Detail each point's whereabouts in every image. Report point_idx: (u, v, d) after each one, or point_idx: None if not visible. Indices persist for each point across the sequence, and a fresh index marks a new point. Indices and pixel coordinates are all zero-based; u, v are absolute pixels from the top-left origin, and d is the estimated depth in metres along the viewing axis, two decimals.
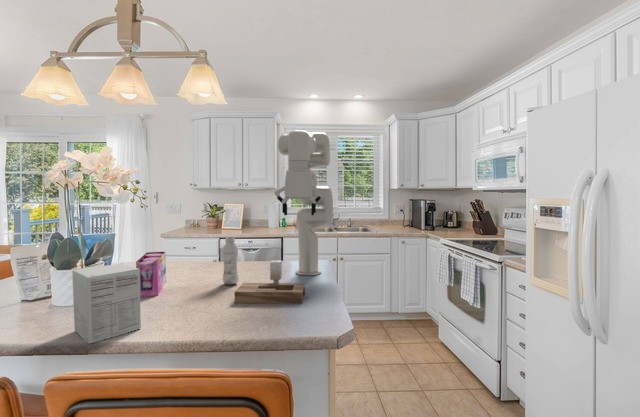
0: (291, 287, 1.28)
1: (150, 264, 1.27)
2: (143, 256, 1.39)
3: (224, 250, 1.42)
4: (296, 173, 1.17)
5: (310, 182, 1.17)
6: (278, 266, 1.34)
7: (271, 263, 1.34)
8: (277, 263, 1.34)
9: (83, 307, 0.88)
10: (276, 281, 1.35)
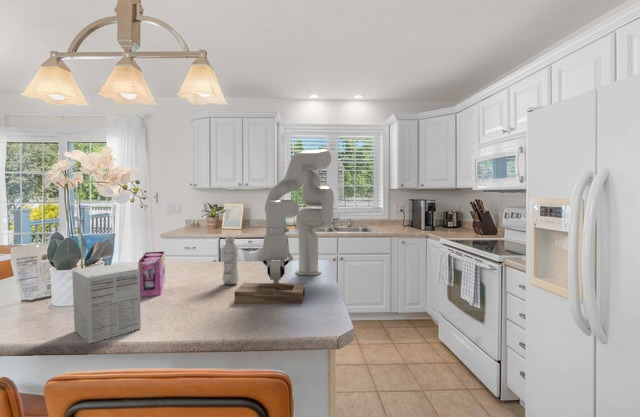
0: (291, 287, 1.28)
1: (153, 264, 1.27)
2: (143, 256, 1.39)
3: (224, 250, 1.42)
4: (272, 238, 1.33)
5: (285, 246, 1.33)
6: (278, 266, 1.34)
7: (271, 263, 1.34)
8: (277, 263, 1.34)
9: (83, 308, 0.88)
10: (276, 281, 1.35)
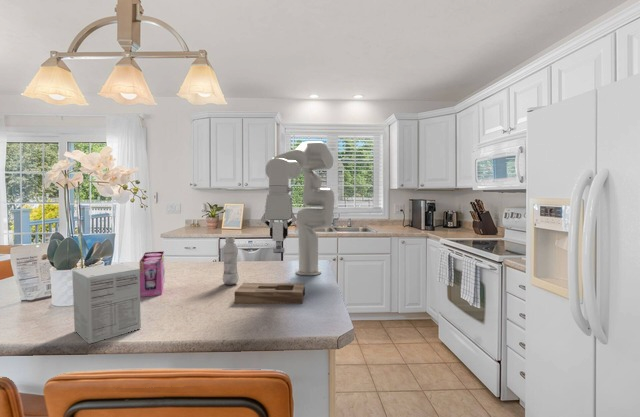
0: (291, 287, 1.28)
1: (154, 263, 1.28)
2: (143, 256, 1.40)
3: (224, 250, 1.42)
4: (275, 197, 1.27)
5: (288, 205, 1.28)
6: (281, 227, 1.28)
7: (273, 223, 1.28)
8: (280, 223, 1.28)
9: (83, 307, 0.88)
10: (279, 243, 1.29)
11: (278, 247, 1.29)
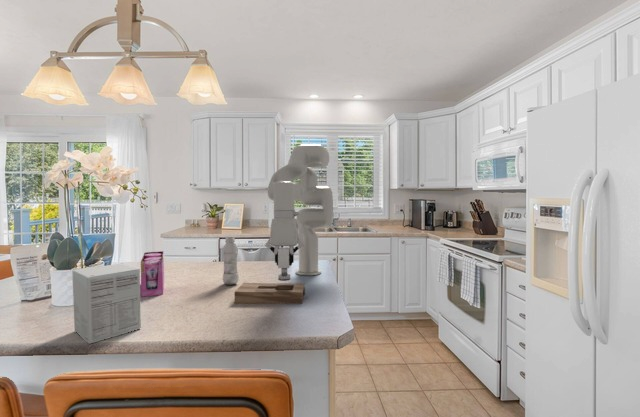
0: (291, 287, 1.28)
1: (155, 263, 1.28)
2: (143, 256, 1.40)
3: (224, 250, 1.42)
4: (281, 222, 1.21)
5: (294, 231, 1.22)
6: (287, 253, 1.22)
7: (279, 250, 1.22)
8: (286, 250, 1.22)
9: (83, 307, 0.88)
10: (284, 270, 1.23)
11: (284, 274, 1.23)
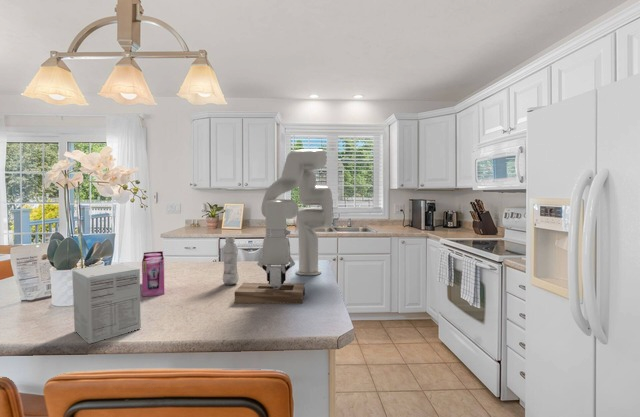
0: (291, 287, 1.28)
1: (157, 263, 1.28)
2: (143, 256, 1.40)
3: (224, 250, 1.42)
4: (272, 241, 1.22)
5: (286, 250, 1.22)
6: (279, 272, 1.23)
7: (271, 269, 1.23)
8: (277, 268, 1.23)
9: (83, 307, 0.88)
10: (276, 288, 1.24)
11: None
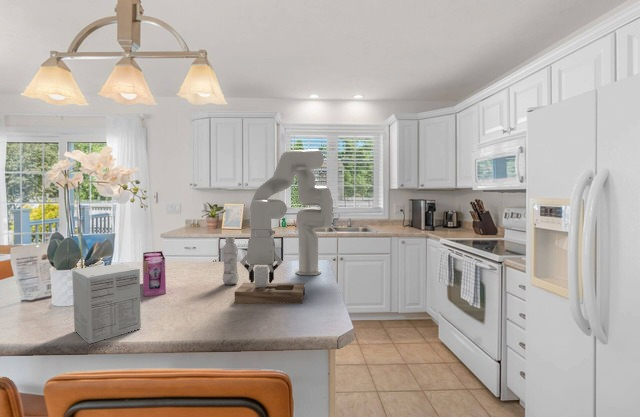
0: (291, 287, 1.28)
1: (158, 263, 1.29)
2: (143, 256, 1.40)
3: (224, 250, 1.42)
4: (257, 241, 1.22)
5: (271, 249, 1.22)
6: (263, 272, 1.23)
7: (256, 269, 1.23)
8: (262, 269, 1.23)
9: (83, 307, 0.88)
10: None
11: None
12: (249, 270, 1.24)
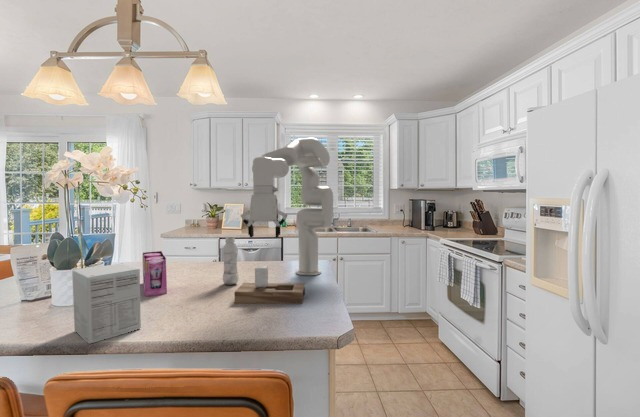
0: (291, 287, 1.28)
1: (159, 263, 1.29)
2: (143, 256, 1.40)
3: (224, 250, 1.42)
4: (260, 198, 1.22)
5: (274, 206, 1.23)
6: (263, 272, 1.23)
7: (256, 269, 1.23)
8: (262, 269, 1.23)
9: (83, 307, 0.88)
10: None
11: None
12: (248, 225, 1.24)
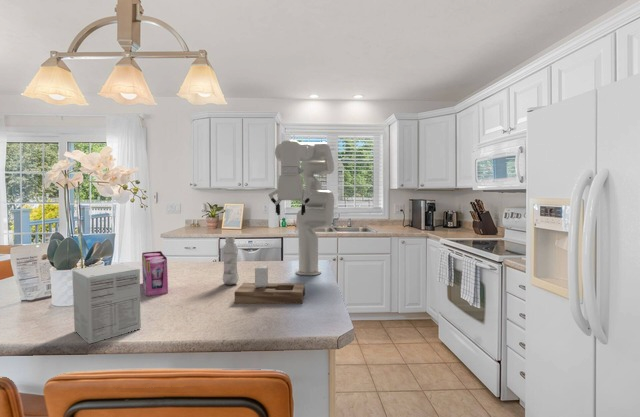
0: (291, 287, 1.28)
1: (161, 263, 1.29)
2: (143, 256, 1.40)
3: (224, 250, 1.42)
4: (287, 178, 1.32)
5: (300, 186, 1.32)
6: (263, 272, 1.23)
7: (256, 269, 1.23)
8: (262, 269, 1.23)
9: (83, 307, 0.88)
10: None
11: None
12: (276, 203, 1.33)
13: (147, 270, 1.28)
